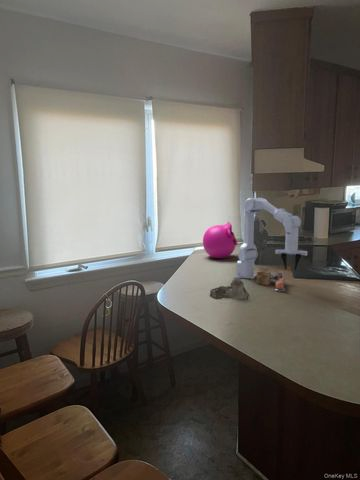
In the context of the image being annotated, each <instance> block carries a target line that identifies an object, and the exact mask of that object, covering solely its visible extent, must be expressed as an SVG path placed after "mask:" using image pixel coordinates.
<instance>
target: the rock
mask: <svg viewBox="0 0 360 480" xmlns="http://www.w3.org/2000/svg"><path fill="white" fill-rule="evenodd" d="M247 296H248V297H249V296H250V294H249V292H248V291H247V289H246V288H245V285H244V282H243V281H242V279H241V278H239V277H233V279H232V281H231V283H230V285H227V286H224V285H220V286H219V287H214V288H211V289H210V291H209V297H212V298H213V299H214V298H215V300H223V299H222V298H227V299H228V298H233V299H232V300H244V299H248V297H247ZM234 298H235V299H234ZM237 298H238V299H237Z"/></svg>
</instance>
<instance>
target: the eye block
mask: <svg viewBox="0 0 360 480" xmlns="http://www.w3.org/2000/svg"><path fill="white" fill-rule="evenodd" d="M271 273H272V269H271V268H262V267H260V268H258V270H257V271H256V285H265V286H270V284H271V280H272V279H269V275H272V274H271Z"/></svg>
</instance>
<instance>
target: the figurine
mask: <svg viewBox="0 0 360 480" xmlns="http://www.w3.org/2000/svg"><path fill="white" fill-rule="evenodd" d="M202 245H203V249H204V251H205V253H206V254H207V255H208V256H209V257H212V258H215V259H224V258H227V257H230V255H232V254H233V252H234V251H235V250H236V246H238V240H237V238H236V236H235V233H234V232H233V226H232V222H230V221H227V223H225V224H216V225H213V226H210V227H209V228H207V229H206V231H205V232H204V233H203V238H202Z"/></svg>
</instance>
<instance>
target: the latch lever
mask: <svg viewBox="0 0 360 480" xmlns="http://www.w3.org/2000/svg"><path fill="white" fill-rule="evenodd" d="M284 284H285V283H284V277H283V278H279V281H278V282H277V281H275V288H276V289H279V290H282V289H283V288H284V289H285V287H284V286H285V285H284Z"/></svg>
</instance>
